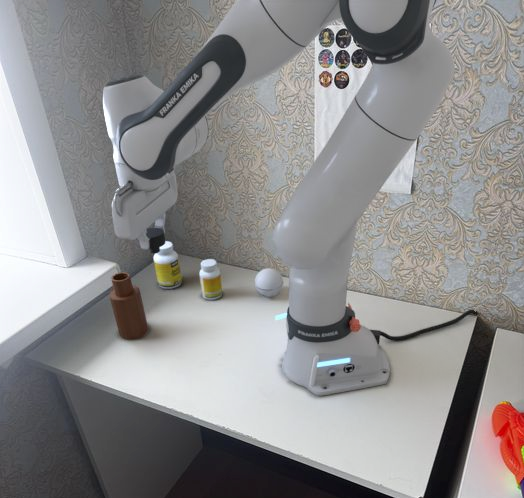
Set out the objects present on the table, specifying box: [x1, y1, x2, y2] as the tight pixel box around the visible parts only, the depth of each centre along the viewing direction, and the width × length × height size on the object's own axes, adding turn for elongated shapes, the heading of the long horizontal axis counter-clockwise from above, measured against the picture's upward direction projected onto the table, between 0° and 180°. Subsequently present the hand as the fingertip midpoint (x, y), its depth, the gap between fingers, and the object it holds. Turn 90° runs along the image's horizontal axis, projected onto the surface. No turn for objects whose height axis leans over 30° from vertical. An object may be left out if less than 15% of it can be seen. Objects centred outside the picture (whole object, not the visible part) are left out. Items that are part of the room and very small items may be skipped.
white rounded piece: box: [254, 267, 289, 298], centre depth 128 cm, size 10×7×7 cm
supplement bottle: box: [198, 258, 223, 301], centre depth 129 cm, size 5×5×10 cm
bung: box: [146, 227, 166, 254], centre depth 103 cm, size 5×5×4 cm
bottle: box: [108, 271, 149, 341], centre depth 116 cm, size 7×7×15 cm
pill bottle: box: [153, 240, 183, 290], centre depth 134 cm, size 6×6×12 cm
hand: (153, 240), depth 102 cm, fingers closed on bung, 5 cm apart
